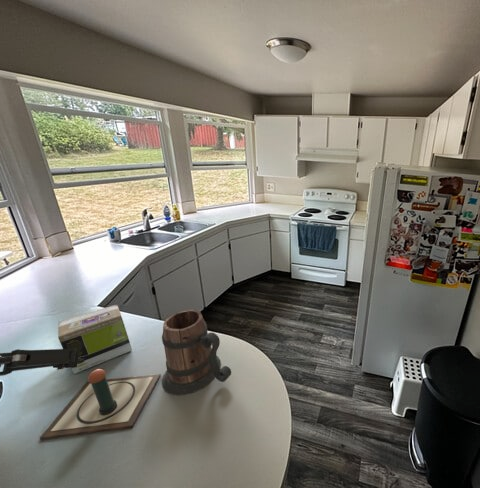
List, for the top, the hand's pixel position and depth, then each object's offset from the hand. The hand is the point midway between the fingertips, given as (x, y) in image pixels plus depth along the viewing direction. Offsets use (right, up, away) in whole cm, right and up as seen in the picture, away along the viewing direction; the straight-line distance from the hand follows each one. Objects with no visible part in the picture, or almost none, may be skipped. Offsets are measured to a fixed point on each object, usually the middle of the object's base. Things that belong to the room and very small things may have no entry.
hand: (33, 369), depth 52 cm
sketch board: (0, -18, +17) cm, 25 cm away
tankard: (+21, -16, +28) cm, 38 cm away
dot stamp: (+3, -18, +15) cm, 24 cm away
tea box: (-16, -12, +34) cm, 39 cm away
